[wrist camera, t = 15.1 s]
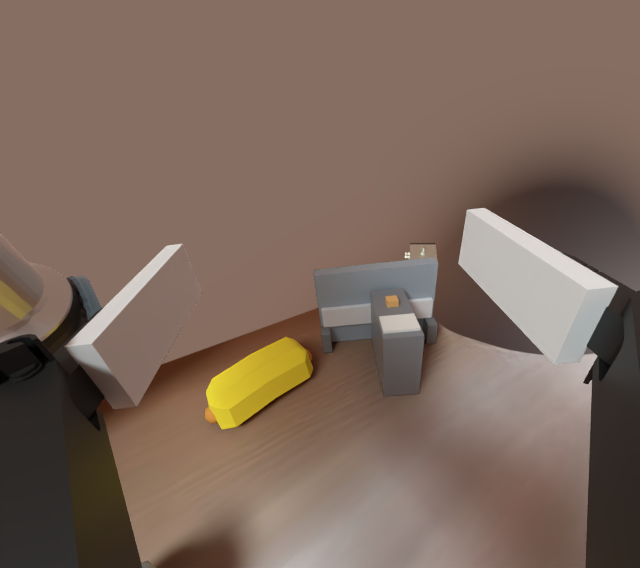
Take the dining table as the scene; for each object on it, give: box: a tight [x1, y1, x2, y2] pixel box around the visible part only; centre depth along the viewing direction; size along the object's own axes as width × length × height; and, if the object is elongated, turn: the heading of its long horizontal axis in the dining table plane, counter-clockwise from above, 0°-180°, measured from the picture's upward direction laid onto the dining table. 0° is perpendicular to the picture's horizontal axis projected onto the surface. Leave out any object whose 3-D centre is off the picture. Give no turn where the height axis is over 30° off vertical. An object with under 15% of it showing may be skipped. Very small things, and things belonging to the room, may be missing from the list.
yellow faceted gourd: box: [205, 337, 313, 429], centre depth 43 cm, size 18×7×8 cm
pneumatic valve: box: [405, 243, 438, 262], centre depth 56 cm, size 6×12×12 cm, turn 164°
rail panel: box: [314, 257, 438, 353], centre depth 48 cm, size 19×4×14 cm, turn 90°
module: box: [370, 288, 424, 397], centre depth 43 cm, size 5×11×12 cm, turn 0°
